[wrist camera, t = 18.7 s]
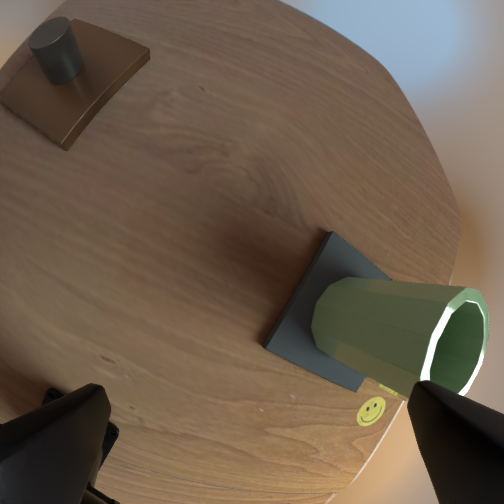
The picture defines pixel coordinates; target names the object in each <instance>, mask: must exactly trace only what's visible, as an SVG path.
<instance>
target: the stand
mask: <svg viewBox="0 0 504 504" xmlns="http://www.w3.org/2000/svg"><path fill="white" fill-rule="evenodd" d="M28 45H29V47H30V49H31V51H32V53H33V54H34V56H33V57H32V58H31V59H30V60H29V61H28V62H27V63H26V65H25V66H24V67H23V68H22V69H21V70H20V71H19V72H18V73H17V75H16V76H15V77H14V78H13V79H12V80H11V82H10V83H9V84H8V85H7V86H6V88H5V89H4V90H3V91H2V93H1V94H0V102H1V103H2V104H3V105H4V106H5V107H6V108H8V109H9V110H11V111H12V112H13V113H15V114H16V115H17V116H19V117H20V118H21V119H23V120H24V121H26V122H27V123H28V124H30V125H31V126H33V127H34V128H35V129H37V130H38V131H39V132H41V133H42V134H44V135H45V136H46V137H48V138H49V139H51V140H52V141H53V142H55V143H56V144H58V145H59V146H60V147H62V148H63V149H65V150H66V151H68V149H69V148H70V147H71V145H72V144H73V143H74V141H75V140H76V139H77V137H78V136H79V135H80V134H81V132H82V131H83V130H84V129H85V127H86V126H87V125H88V124H89V122H90V121H91V120H92V119H93V118H94V116H95V115H96V114H97V113H98V112H99V111H100V109H101V108H102V107H103V106H104V105H105V104H106V103H107V102H108V100H109V99H110V98H111V97H112V96H113V95H114V94H115V93H116V92H117V91H118V90H119V89H120V88H121V87H122V86H123V85H124V84H125V83H126V82H127V81H128V80H129V79H130V78H131V77H132V76H133V75H134V74H135V73H136V72H137V71H138V70H139V69H140V68H141V67H142V66H143V65H144V64H145V63H146V62H148V61H149V60H150V50H149V48H147V47H145V46H143V45H140V44H138V43H136V42H134V41H132V40H129V39H127V38H125V37H122V36H120V35H118V34H115V33H113V32H110V31H108V30H105V29H103V28H100V27H97V26H95V25H92V24H89V23H86V22H84V21H81V20H78V19H74V20H72V21H71V22H70V20H69V19H68V18H66V17H56V18H53V19H50V20H48V21H46V22H45V23H43V24H42V25H40V26H39V27H38V28H37V29H36V30H35V31H34V32H33V33H32V35H31V36H30V38H29V42H28Z"/></svg>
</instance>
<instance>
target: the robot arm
mask: <svg viewBox="0 0 504 504" xmlns="http://www.w3.org/2000/svg"><path fill="white" fill-rule="evenodd" d="M50 392H51V393H53V394H54V396H53V395H52V394H51V393H50ZM407 408H408V413H409V415H410V419H411V423H412V426H413V430H414V433H415V437H416V441H417V444H418V447H419V450H420V453H421V455H422V458H423V460H424V463H425V466H426V468H427V471H428V473H429V476H430V479H431V481H432V484H433V487H434V489H435V493H436V495H437V498H438V501H439V504H504V414H502V413H500V412H498V411H495V410H493V409H491V408H489V407H486V406H484V405H482V404H480V403H477V402H475V401H473V400H471V399H469V398H466V397H464V396H462V395H460V394H458V393H456V392H453V391H451V390H449V389H447V388H445V387H443V386H441V385H439V384H436V383H434V382H432V381H430V380H422V381H418V382H416V383H415V384H414V386H413V389H412V392H411V395H410V397H409V400H408V404H407ZM110 414H111V405H110V402H109V400H108V397H107V394H106V392H105V389H104V387H103V386H101V385H98V384H93V383H90V384H87V385H85V386H83V387H81V388H79V389H77V390H75V391H73V392H71V393H69V394H67V395H65V396H64V395H63V394H62V393H60V392H59V391H57V390H56V389H54V388H49V389H48V390H47V391H46V394H45V396H44V399H43V402H42V405H41V407H40V408H37V409H35V410H33V411H31V412H29V413H26V414H24V415H22V416H20V417H18V418H15V419H13V420H11V421H8V422H6V423H4V424H0V504H120V503H119V502H117V501H116V500H114V499H110V498H109V497H107V496H106V495H104V494H102V493H101V492H99V491H98V490H96V489H95V488H94V486H95V482H96V478H97V474H98V471H99V469H100V468H101V466H102V464H103V462H104V460H105V459H106V457H107V455H108V453H109V452H110V450H111V448H112V446H113V444H114V443H115V441H116V439H117V437H118V435H119V429H118V428H117V427H116V426H114V425H112V424H110V423H108V421H109V417H110ZM111 430H112V431H114V432H115V433H113V432H111Z"/></svg>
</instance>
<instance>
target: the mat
mask: <svg viewBox="0 0 504 504" xmlns="http://www.w3.org/2000/svg"><path fill="white" fill-rule="evenodd" d="M346 277H358V278H368V279H379V280H390V281H393V280H392V279H390V278H389V277H388V276H387V275H386V274H385V273H383V272H382V271H381V270H380V269H379V268H378V267H376V266H375V265H374V264H373V263H372V262H370V261H369V260H368V259H367V258H366V257H364V256H363V255H362V254H361V253H360V252H358V251H357V250H356V249H355V248H353V247H352V246H351V245H350V244H349V243H347V242H346V241H345V240H344V239H342V238H341V237H340V236H339V235H337V234H336V233H335V232H333V231H331V232H328V233H327V235H326V237H325V239H324V241H323V242H322V244H321V246H320V248H319V250H318V251H317V253H316V255H315V257H314V259H313V260H312V262H311V264H310V266H309V268H308V269H307V271H306V273H305V275H304V276H303V278H302V280H301V282H300V283H299V285H298V287H297V289H296V290H295V292H294V294H293V295H292V297H291V299H290V301H289V302H288V304H287V306H286V307H285V309H284V311H283V312H282V314H281V316H280V317H279V319H278V321H277V322H276V324H275V326H274V327H273V329H272V330H271V332H270V334H269V335H268V337H267V339H266V340H265V342H264V343H263V345H262V346H263V347H264V348H265V349H266V350H268V351H270V352H272V353H274V354H276V355H278V356H280V357H282V358H284V359H286V360H288V361H290V362H292V363H294V364H296V365H298V366H300V367H302V368H304V369H306V370H308V371H310V372H312V373H314V374H316V375H318V376H320V377H323V378H325V379H327V380H329V381H331V382H333V383H336V384H338V385H340V386H342V387H344V388H347V389H349V390H351V391H354V392H357V390H358V389H359V387H360V385H361V384H362V382H363V380H364V379H365V378H363V377H361V376H359V375H358V374H356V373H354V372H352V371H351V370H349V369H347V368H346V367H344V366H342V365H340V364H339V363H337V362H335V361H334V360H332V359H330V358H329V357H328V356H327V355H325V354H324V353H323V352H322V351H320V350H319V349H318V348H317V347H316V344H315V340H314V337H313V333H312V330H311V324H312V319H313V314H314V309H315V305H316V302H317V301H318V300H319V298H320V297H321V296H322V294H323V293H324V292H325V290H326V289H327V288H328V286H329V285H330V284H333V283H335V282H337V281H339V280H341V279H344V278H346Z"/></svg>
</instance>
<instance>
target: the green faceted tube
mask: <svg viewBox="0 0 504 504" xmlns="http://www.w3.org/2000/svg"><path fill="white" fill-rule="evenodd" d="M488 316H489V315H488V307H487V305H486V303H485V300H484V298H483V296H482V294H481V292H480V291H479V290H475V289H472V288H468V287H460V286H448V285H436V284H424V283H413V282H401V281H390V280H379V279H368V278H358V277H346V278H344V279H341V280H339V281H337V282H335V283H333V284H330V285H329V286H328V288H327V289H326V290H325V292H324V293H323V294H322V296H321V297H320V298H319V300H318V301H317V302H316V305H315V309H314V314H313V319H312V324H311V330H312V333H313V337H314V340H315V344H316V347H317V348H318V349H319V350H320V351H322V352H323V353H324V354H325V355H327V356H328V357H329V358H330V359H332V360H334V361H335V362H337V363H339V364H340V365H342V366H344V367H346V368H347V369H349V370H351V371H352V372H354V373H356V374H358V375H359V376H361V377H363V378H365V379H366V380H368V381H370V382H372V383H373V384H375V385H377V386H379V387H381V388H382V389H384V390H386V391H388V392H390V393H392V394H393V395H395V396H397V397H399V398H401V399H403V400H404V401H406V402H408V400H409V397H410V395H411V392H412V389H413V386H414V384H415V383H416V382H418V381H422V380H430V381H432V382H434V383H436V384H439V385H441V386H443V387H445V388H447V389H449V390H451V391H453V392H456V393H458V394H460V395H462V396H464V394H465V393H466V392H467V391H468V389H469V388H470V386H471V384H472V382H473V380H474V378H475V377H476V375H477V373H478V371H479V369H480V367H481V364H482V360H483V357H484V353H485V349H486V345H487V340H488V335H489V320H488V319H489V317H488Z"/></svg>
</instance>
